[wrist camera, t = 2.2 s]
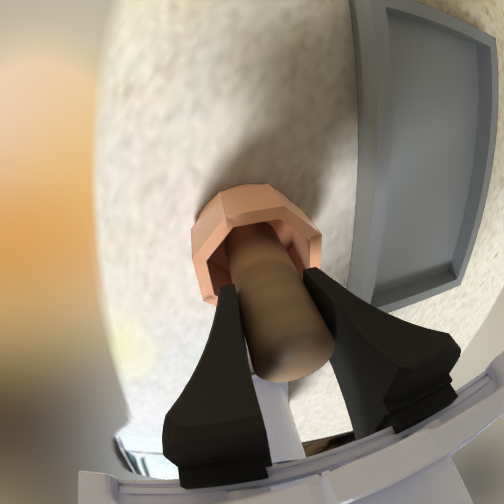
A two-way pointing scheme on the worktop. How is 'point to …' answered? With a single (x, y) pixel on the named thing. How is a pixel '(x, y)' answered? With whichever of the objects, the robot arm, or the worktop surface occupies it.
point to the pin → (275, 306)
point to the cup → (243, 213)
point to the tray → (419, 149)
